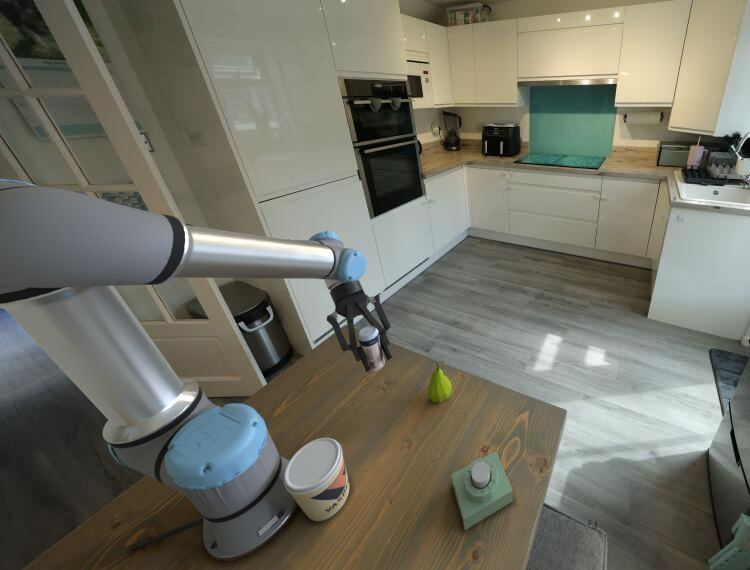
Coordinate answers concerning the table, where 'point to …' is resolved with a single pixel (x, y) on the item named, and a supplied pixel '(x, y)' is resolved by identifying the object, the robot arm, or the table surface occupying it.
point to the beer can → (371, 347)
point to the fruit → (439, 386)
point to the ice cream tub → (318, 478)
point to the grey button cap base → (481, 491)
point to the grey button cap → (480, 474)
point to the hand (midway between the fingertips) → (379, 364)
